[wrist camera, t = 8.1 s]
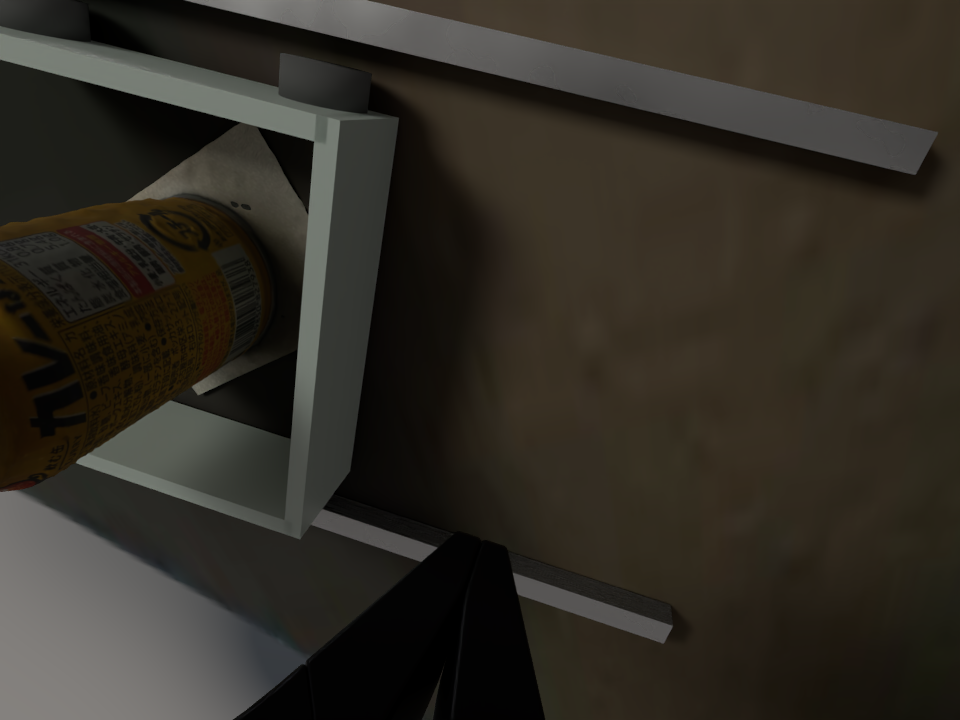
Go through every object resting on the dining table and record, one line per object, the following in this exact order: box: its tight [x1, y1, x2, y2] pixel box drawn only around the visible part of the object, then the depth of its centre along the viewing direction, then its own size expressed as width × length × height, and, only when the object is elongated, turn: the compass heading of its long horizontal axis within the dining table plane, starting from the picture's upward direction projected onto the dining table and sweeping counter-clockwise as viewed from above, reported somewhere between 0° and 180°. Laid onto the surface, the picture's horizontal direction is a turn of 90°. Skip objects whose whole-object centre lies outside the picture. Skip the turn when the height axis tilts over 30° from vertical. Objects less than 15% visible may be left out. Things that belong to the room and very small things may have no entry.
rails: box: [185, 0, 938, 643], centre depth 20 cm, size 28×19×1 cm, turn 77°
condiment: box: [0, 122, 308, 492], centre depth 15 cm, size 7×8×12 cm
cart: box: [0, 0, 399, 539], centre depth 18 cm, size 12×15×4 cm
